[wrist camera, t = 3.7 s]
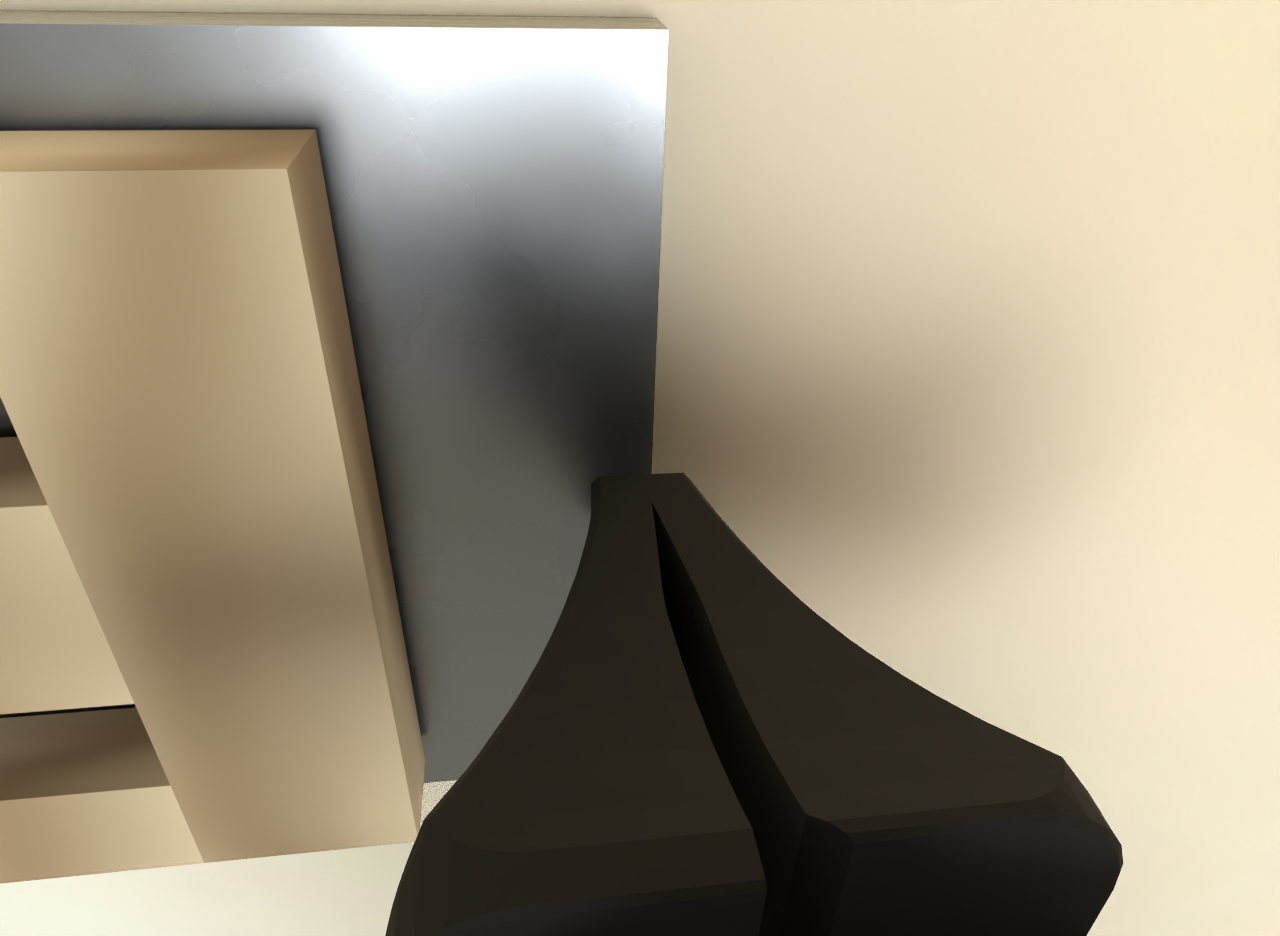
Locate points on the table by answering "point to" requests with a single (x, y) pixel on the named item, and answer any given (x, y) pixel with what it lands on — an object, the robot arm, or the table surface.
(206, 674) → the panel
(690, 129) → the table surface
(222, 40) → the silver double slider board
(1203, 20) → the table surface
